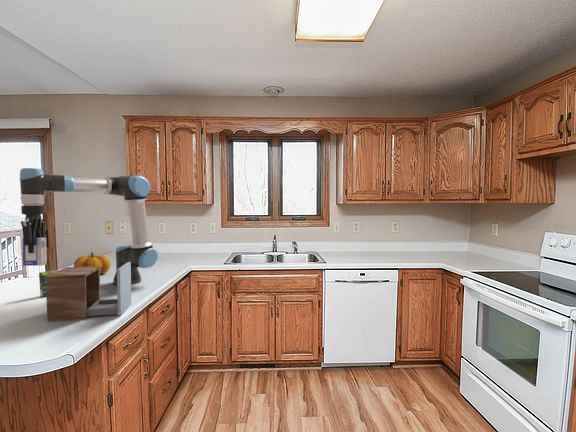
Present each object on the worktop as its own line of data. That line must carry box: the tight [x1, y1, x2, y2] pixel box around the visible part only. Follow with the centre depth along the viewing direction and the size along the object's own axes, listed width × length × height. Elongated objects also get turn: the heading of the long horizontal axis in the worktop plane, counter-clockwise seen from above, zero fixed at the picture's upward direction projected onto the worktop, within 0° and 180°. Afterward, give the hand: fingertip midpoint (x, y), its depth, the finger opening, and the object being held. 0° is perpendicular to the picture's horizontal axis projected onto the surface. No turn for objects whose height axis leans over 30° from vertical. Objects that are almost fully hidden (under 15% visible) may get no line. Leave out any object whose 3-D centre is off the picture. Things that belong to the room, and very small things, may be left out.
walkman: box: [22, 237, 48, 267], centre depth 129 cm, size 8×3×12 cm, turn 94°
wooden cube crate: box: [45, 266, 101, 323], centre depth 133 cm, size 17×14×19 cm
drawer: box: [87, 262, 132, 317], centre depth 137 cm, size 17×14×20 cm
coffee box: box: [38, 268, 60, 298], centre depth 158 cm, size 8×3×13 cm, turn 150°
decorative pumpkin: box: [73, 252, 111, 275], centre depth 203 cm, size 20×22×15 cm
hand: (35, 259), depth 129 cm, fingers closed on walkman, 3 cm apart
